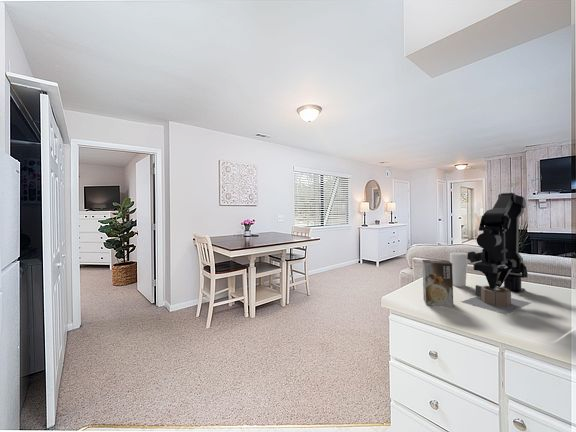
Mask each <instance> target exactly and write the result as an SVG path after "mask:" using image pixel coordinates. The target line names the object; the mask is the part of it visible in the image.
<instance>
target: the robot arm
mask: <svg viewBox="0 0 576 432" xmlns="http://www.w3.org/2000/svg"><path fill="white" fill-rule="evenodd" d="M526 206H527V201H526V199H525V198H524V196H521V195H517V194H516V193H515V192H503V193H499V194H498V196H497V199H496V202H495V204H494V206H493V207H492V208H491V209H488V210H486V211H485V212H484V213H483V215H481V217H480V221H479V225H478V226H479V227H478V231H479V232H482V231H483V232H482V233H480V234H479V235H477V236H476V237H477V238H476V243H477V245H478V246H479V247H480V248H481V249H482V250H481V252H477V253H476V252H475V251H469V252H467V260H469V262H470V264H473V263H474V264H473V271H477V272H481V273H482V274H483V275H484V276H485V278H486V281H487V283H488V286H490V288H491V289H494V288H495V286H496V283H497V281H498V280H501V286H497V287H502V288H507V289H508V290H510V291H511V292H514V293H515V292H516V293H521V292H523V291H525V290H526V289H525V288H523V287H522V278H523V279H524V278H525V279H526V278H528V269H527V266H526V263H524V258H523V257H522V255H521V254H520V253H519V230H520V229H519V225H520V224H519V219H520V217H521V216H522V215H523V214H524V213H525V209H526ZM502 285H503V286H502Z"/></svg>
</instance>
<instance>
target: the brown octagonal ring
mask: <svg viewBox="0 0 576 432" xmlns="http://www.w3.org/2000/svg"><path fill="white" fill-rule="evenodd" d="M502 287H503V286H501V287H498V286H497V288H499V289H500V291H497V292H495V291H494V290H492V289H491V288H490V286H489V285H483V286H482V285H477V284H476V285H475V297H476V296H479V297H481V300H482V301H483V302H484V303H487V304H490V305H494V306H505V307H506V306H510V305H511V298H512V291H510V290H508V289H507V288H502Z"/></svg>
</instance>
